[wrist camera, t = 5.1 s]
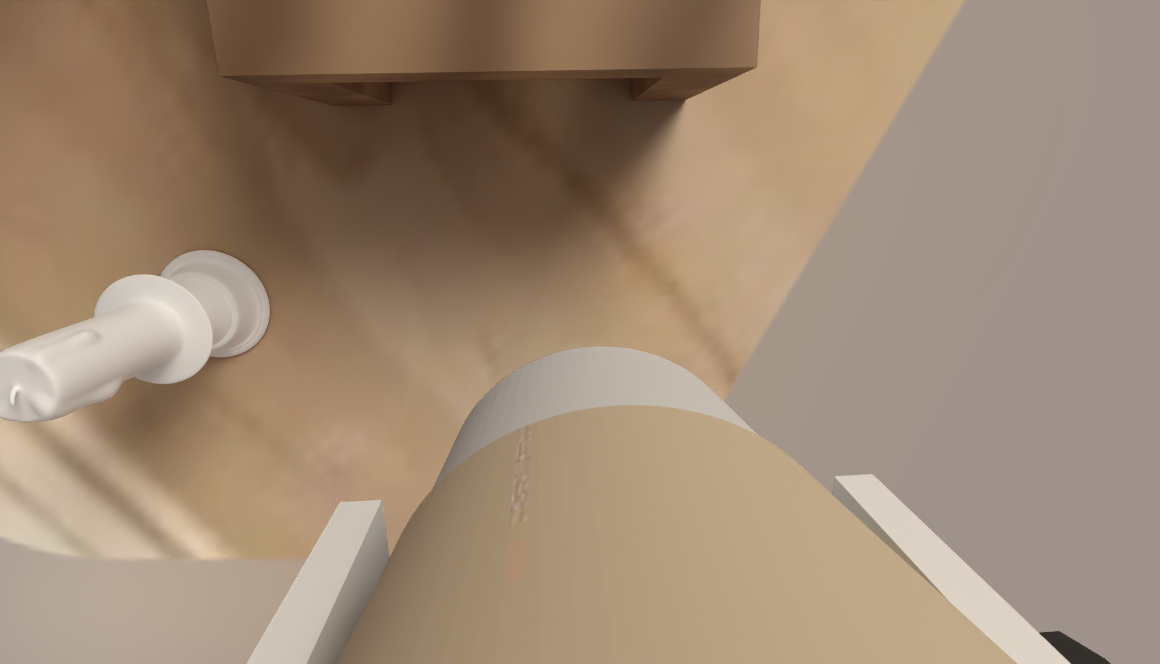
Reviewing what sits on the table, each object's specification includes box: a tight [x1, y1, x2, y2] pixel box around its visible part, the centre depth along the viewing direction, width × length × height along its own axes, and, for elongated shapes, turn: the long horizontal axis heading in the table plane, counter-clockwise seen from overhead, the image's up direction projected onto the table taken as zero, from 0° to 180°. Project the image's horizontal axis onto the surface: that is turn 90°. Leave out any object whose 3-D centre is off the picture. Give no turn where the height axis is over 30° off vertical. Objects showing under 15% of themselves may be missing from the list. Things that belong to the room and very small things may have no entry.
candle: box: [0, 250, 270, 422], centre depth 24 cm, size 5×5×12 cm
